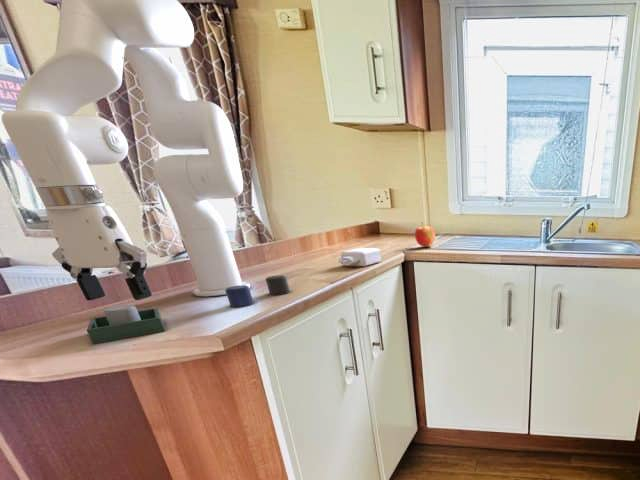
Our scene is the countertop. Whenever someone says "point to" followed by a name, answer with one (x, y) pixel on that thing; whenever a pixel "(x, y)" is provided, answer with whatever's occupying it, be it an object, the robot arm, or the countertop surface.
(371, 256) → the charger
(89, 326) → the tray
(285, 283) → the black cap
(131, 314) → the grey cap
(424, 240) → the apple
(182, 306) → the countertop surface
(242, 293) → the navy cap
